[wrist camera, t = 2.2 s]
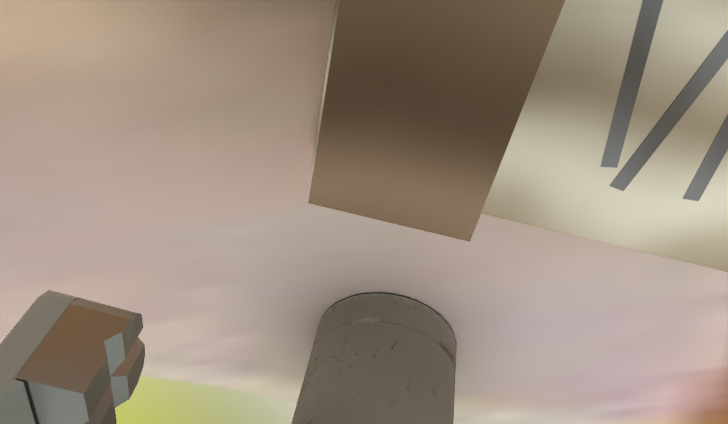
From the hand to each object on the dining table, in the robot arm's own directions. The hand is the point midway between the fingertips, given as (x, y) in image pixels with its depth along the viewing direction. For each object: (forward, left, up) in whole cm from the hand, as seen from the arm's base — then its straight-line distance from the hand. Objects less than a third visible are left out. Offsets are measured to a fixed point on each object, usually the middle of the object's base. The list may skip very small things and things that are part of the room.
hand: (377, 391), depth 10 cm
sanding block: (0, 0, -15) cm, 15 cm away
